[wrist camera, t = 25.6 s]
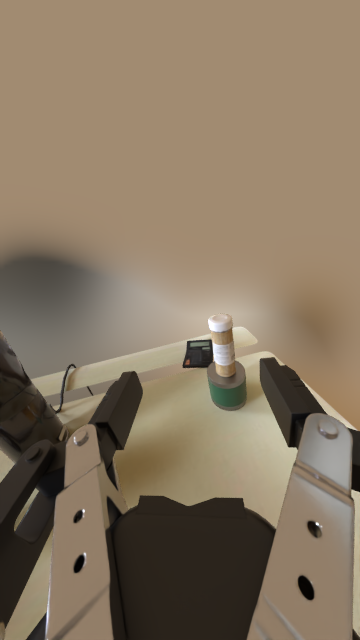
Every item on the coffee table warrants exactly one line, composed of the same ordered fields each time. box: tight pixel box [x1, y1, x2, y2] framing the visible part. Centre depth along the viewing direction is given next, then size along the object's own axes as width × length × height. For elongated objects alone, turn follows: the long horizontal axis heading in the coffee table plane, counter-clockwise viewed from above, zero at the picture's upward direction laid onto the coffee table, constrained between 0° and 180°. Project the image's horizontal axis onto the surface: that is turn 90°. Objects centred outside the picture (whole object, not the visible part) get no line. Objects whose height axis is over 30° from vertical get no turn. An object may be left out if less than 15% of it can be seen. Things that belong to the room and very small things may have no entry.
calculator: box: [183, 340, 213, 368], centre depth 58 cm, size 9×12×3 cm
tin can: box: [207, 361, 247, 411], centre depth 40 cm, size 8×8×8 cm
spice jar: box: [208, 314, 236, 377], centre depth 36 cm, size 5×5×14 cm
